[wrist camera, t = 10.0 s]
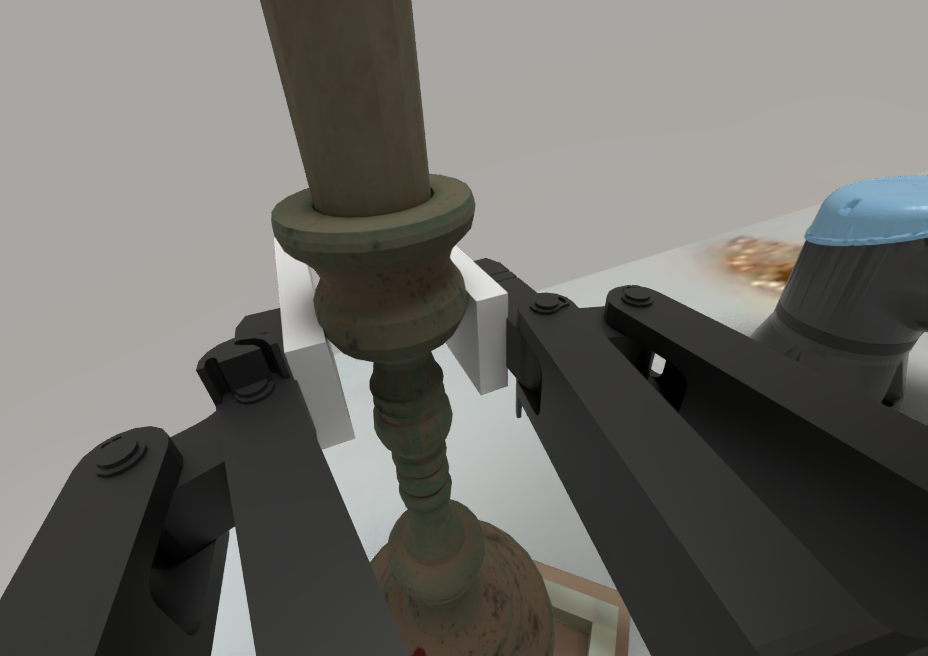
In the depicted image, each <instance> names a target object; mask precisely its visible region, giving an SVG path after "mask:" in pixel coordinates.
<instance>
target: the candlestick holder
mask: <svg viewBox="0 0 928 656" xmlns="http://www.w3.org/2000/svg"><path fill="white" fill-rule="evenodd" d="M260 2H261V6H262V9H263V13H264V17H265V21H266V25H267V29H268V32H269V36H270V40H271V43H272V48H273V51H274V55H275V59H276V63H277V67H278V70H279V74H280V78H281V82H282V85H283V90H284V93H285V97H286V101H287V105H288V108H289V112H290V116H291V120H292V124H293V128H294V131H295V135H296V139H297V142H298V146H299V150H300V154H301V158H302V162H303V166H304V170H305V173H306V177H307V181H308V185H309V188H307V189H304V190H302V191H299V192H297V193H295V194H293V195H291V196H288V197H287V198H285V199H284V200H282V201H281V202H279V203H278V204H277V205H276V206H275V208H274V209H273V211H272V219H271V220H272V228H273V232H274V236H275V238H276V240H277V241H278V243H279V244H280V246H281V247H282V249H283V251H284V252H285V253H287V254H288V255H290V256H291V257H292V258H294V259H295V260H298V261H300V262H302V263H305V264H306V265H308V266H310V267H311V268H313V269H314V270H315V271H316V273H317V274H318V275H319V277H320V281H319V283H318V285H317V288H316V290H315V294H314V299H313V302H314V308H315V315H316V318H317V321H318V323H319V325H320V326H321V327H322V328H323V331H324V335H325V337H326V338H327V339H328V340H329V341H330V342H332V343H333V344H334V345H335V346H336V347H337V348H338V349H339V350H340V351H341V352H342V353H344V354H346V355H348V356H351V357H353V358H355V359H359V360H365V361H370V362H374V364H373V374H372V376H371V378H370V390H371V393H372V395H373V402H374V405H375V407H374V410H373V413H374V429H375V431H376V434H377V436H378V437H379V439H380V440H381V442H382V443H383V444H384V446H385V447H386V448H387V449H388V450H390V451H392V459H393V461H394V464H395V465H396V472H397V479H398V482H399V493H400V495H401V498H402V500H403V502H404V503H405V506H406V507H407V509H408V510H407V511H405V512H404V513H403V514H402V515H401V517H400V518H399V519H398V520H397V521H396V523H395V525H394V527H393V529H392V531H391V533H390V536H389V540H388V543H387V544H386V545H384V546H383V547H382V548H381V550H380V551H379V552H378V553H377V554H376V556H375V557H374V558H373V559H372V561H371V562H370V565H371V567H372V569H373V572H374V574H375V576H376V579H377V581H378V584H379V586H380V588H381V591H382V593H383V595H384V598H385V600H386V602H387V605H388V607H389V609H390V612H391V614H392V616H393V619H394V621H395V623H396V626H397V628H398V631H399V633H400V635H401V638H402V640H403V642H404V645H405V647H406V649H407V652H408V654H409V656H553V654H554V646H555V630H554V620H553V610H552V604H551V601H550V598H549V595H548V592H547V589H546V586H545V583H544V580H543V577H542V575H541V573H540V572H539V570H538V569H537V567H536V565H535V564H534V562H533V561H532V559H531V557H530V556H529V554H528V553H527V552H526V551H525V550H524V549H523V548H522V547H521V546H520V545H519V544H518V543H517V542H516V541H515V540H514V539H513V538H512V537H511V536H510V535H509V534H507V533H505V532H504V531H502V530H500V529H499V528H497V527H495V526H493V525H492V524H490V523H487V522H484V521H480V520H478V519H477V517H476V516H475V515H474V514H473V513H472V512H471V511H470V510H469V509H468V507H466V506H465V505H463V504H461V503H459V502H458V501H454V500H451V499H450V495H451V485H452V480H451V476H450V474H449V472H448V471H449V465H448V460H447V457H446V449H447V447H446V442H445V439H446V437H447V435H448V433H449V431H450V427H451V422H452V415H453V414H452V410H451V406H450V402H449V399H448V396H447V394H446V393H445V389H444V384H443V372H442V368H441V367H440V366H439V364H438V363H437V362H436V361H435V359H434V357H433V355H432V352H431V351H432V350H434V349H436V348H438V347H439V346H441V345H443V344H444V343H445V342H446V341H447V340H448V339H450V338H451V337H452V336H453V335H454V333H455V331H456V330H457V328H458V326H459V324H460V322H461V320H462V318H463V316H464V314H465V312H466V310H467V303H468V298H467V293H466V288H465V283H464V278H463V276H462V274H461V271H460V270H459V269H458V267H457V266H456V265H455V264H454V263H453V262H452V260H451V258H450V255H451V252H452V249H453V248H454V246H455V245H456V244H457V243H458V242H459V241H460V240H461V239H462V238H463V237H464V236H465V235H466V233H467V232H468V231H469V230H470V229H471V225H472V221H473V217H474V211H475V201H474V197H473V194H472V191H471V189H470V188H469V187H468V185H467V184H466V183H463V182H462V181H460V180H458V179H455V178H451V177H447V176H442V175H435V174H429V170H428V161H427V150H426V141H425V131H424V121H423V111H422V101H421V91H420V81H419V71H418V61H417V52H416V42H415V33H414V22H413V13H412V2H411V0H260Z"/></svg>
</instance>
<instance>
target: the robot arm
mask: <svg viewBox="0 0 928 656" xmlns="http://www.w3.org/2000/svg"><path fill="white" fill-rule="evenodd" d="M804 237H805V239H806V241H805V243H804V245H803V247H802V250H801V252H800V254H799V256H798V259H797V261H796V263H795V265H794V267H793V270H792V272H791V274H790V276H789V279H788V281H787V283H786V285H785V287H784V290H783V292H782V294H781V297H780V299H779V301H778V304H777V306H776V308H775V310H774V312H773V313H772V314H771V315H770V316H769V317H768V318H767V319H766V320H765V321H764V322H763V323H762V324H761V325H760V326H759V327H758V328H757V329H756V330H755V331H754V332H753V333H752V334H751V335H750V336H749V337H747V336H745V335H743V334H741V333H739V332H737V331H735V330H733V329H731V328H729V327H727V326H725V325H723V324H721V323H719V322H717V321H715V320H713V319H711V318H709V317H707V316H705V315H703V314H701V313H699V312H697V311H695V310H693V309H691V308H689V307H687V306H685V305H683V304H681V303H679V302H677V301H675V300H673V299H671V298H669V297H667V296H665V295H663V294H661V293H659V292H657V291H655V290H652V289H649V288H646V287H640V286H638V285H632V286H631V285H626V286H622V287H617V288H614V289H612V290H611V291H609V293H608V295H607V298H606V304H605V306H602V307H589V308H578V307H577V306H576V305H575V304H574V302H572V301H571V300H570V299H568V298H567V297H564V296H561V295H558V294H553V293H537V292H535V291H534V290H533V289H532V288H530V287H529V286H528V285H527V284H526V283H524V282H523V281H522V280H520V279H519V278H517V277H516V275H515V274H513V273H512V272H510V271H509V270H508V269H507V268H506V267H504V266H503V265H502V264H501V263H499V262H496V261H493V260H491V259H488V258H484V259H480V260H476V261H472V260H471V259H470V258H469V257H468V256H467V255H466V254H465V253H463V252H462V251H461V250H460V249H459V248H458V247H457V246H456V245H455V246H454V248H453V249H452V252H451V255H450V258H451V260H452V262H453V263H454V264H455V265H456V266H457V267H458V269H459V270H460V271H461V274H462V276H463V278H464V283H465V288H466V293H467V298H468V303H467V310H466V312H465V314H464V316H463V318H462V320H461V322H460V324H459V326H458V328H457V330H456V331H455V333H454V335H453V336H452V337H451V338H450V339H448V340H447V341H446V342H445V343H446V344H447V346H448V347H449V349H450V350H451V352H452V353H453V355H454V356H455V358H456V359H457V361H458V362H459V363H460V365H461V366H462V368H463V369H464V371H465V372H466V374H467V375H468V377H469V378H470V380H471V381H472V383H473V384H474V386H475V387H476V389H477V390H478V392H479V393H480V395H483V394H486V393H489V392H492V391H495V390H498V389H500V388H503V387H506V386H508V369H509V370H510V371H511V372H512V374H513V375H514V376H515V377H516V415H517V418H520V417H521V409H522V406H523V408H524V410H525V412H526V414H527V416H528V417H529V419H530V421H531V423H532V425H533V427H534V429H535V431H536V433H537V435H538V437H539V439H540V441H541V443H542V445H543V447H544V449H545V450H546V452H547V454H548V456H549V458H550V460H551V462H552V464H553V466H554V468H555V470H556V472H557V474H558V476H559V478H560V480H561V481H562V483H563V485H564V487H565V489H566V491H567V493H568V495H569V497H570V499H571V501H572V503H573V505H574V507H575V509H576V511H577V512H578V514H579V516H580V518H581V520H582V522H583V524H584V526H585V528H586V530H587V532H588V534H589V536H590V538H591V540H592V542H593V544H594V545H595V547H596V549H597V551H598V553H599V555H600V557H601V559H602V561H603V563H604V565H605V567H606V569H607V571H608V573H609V575H610V576H611V578H612V580H613V582H614V584H615V586H616V588H617V590H618V592H619V594H620V596H621V598H622V600H623V602H624V604H625V606H626V607H627V609H628V611H629V613H630V615H631V617H632V619H633V621H634V623H635V625H636V627H637V629H638V631H639V633H640V635H641V637H642V639H643V640H644V642H645V644H646V646H647V648H648V650H649V652H650V654H651V656H928V426H925V425H923V424H921V423H919V422H917V421H915V420H913V419H911V418H909V417H907V416H905V415H903V414H901V413H899V412H897V411H896V410H897V409H898V408H899V406H900V405H901V402H902V400H903V395H904V387H905V380H906V372H907V364H908V356H909V352H910V351H911V349H912V347H913V346H914V344H915V343H916V342H917V340H918V339H919V337H920V336H921V335H922V334H923V333H924V332H928V176H898V177H885V178H876V179H870V180H865V181H859V182H855V183H852V184H849V185H846V186H843V187H841V188H839V189H837V190H836V191H834V192H833V193H831V194H830V195H829V196H828V197H827V198H826V199H825V201H824V202H823V203H822V205H821V207H820V209H819V211H818V213H817V215H816V217H815V219H814V221H813V223H812V225H811V226H810V227H809V228H808V229H807V231H806V233H805V236H804ZM274 243H275V255H276V266H277V276H278V288H279V299H280V308H278V309H274V310H269V311H265V312H261V313H256V314H252V315H248V316H245V317H244V319H243V320H242V321H241V322H240V324H239V325H238V326H237V327H236V331H235V338H233V339H231V340H228V341H226V342H223V343H221V344H219V345H217V346H216V347H214V348H213V349H211V350H210V351H208V352H207V353H206V354H205V355H204V356H203V357H202V358H201V359H200V360H199V362H198V365H197V369H196V371H197V373H198V375H199V377H200V378H201V380H202V382H203V384H204V386H205V387H206V389H207V391H208V393H209V395H210V397H211V398H212V400H213V402H214V404H215V406H216V412H214V413H213V414H212V415H210V416H209V417H208V418H206V419H205V420H203V421H201V422H199V423H198V424H196V425H194V426H192V427H190V428H188V429H186V430H184V431H182V432H180V433H178V434H176V435H174V436H172V437H169V435H168V434H167V433H166V432H165V431H164V430H163V429H162V428H157V427H152V426H149V427H141V428H134V429H131V430H129V431H126V432H123V433H120V434H117V435H115V436H113V437H111V438H110V439H107V440H106V441H104V442H103V443H101V444H99V445H98V446H97V447H95V448H94V449H93V450H92V451H90V452H89V453H88V454H87V455H85V456H84V457H83V458H82V459H81V461H80V462H79V463H78V465H77V466H76V467H75V468H74V470H73V471H72V473H71V474H70V476H69V478H68V480H67V482H66V483H65V485H64V487H63V489H62V491H61V492H60V494H59V496H58V498H57V499H56V501H55V503H54V505H53V506H52V508H51V510H50V512H49V513H48V515H47V517H46V519H45V521H44V523H43V524H42V526H41V528H40V530H39V531H38V533H37V535H36V537H35V538H34V540H33V542H32V544H31V546H30V547H29V549H28V551H27V553H26V555H25V556H24V558H23V560H22V562H21V564H20V565H19V567H18V569H17V570H16V572H15V574H14V576H13V577H12V579H11V581H10V583H9V585H8V586H7V588H6V590H5V592H4V594H3V595H2V597H1V599H0V656H211V652H212V645H213V639H214V632H215V626H216V619H217V613H218V606H219V600H220V593H221V587H222V580H223V574H224V567H225V561H226V554H227V547H228V541H229V530H230V529H232V528H233V527H235V528H236V534H237V541H238V547H239V553H240V559H241V565H242V571H243V577H244V584H245V590H246V596H247V602H248V608H249V614H250V620H251V627H252V633H253V639H254V645H255V651H256V656H409V654H408V652H407V649H406V647H405V645H404V642H403V640H402V638H401V635H400V633H399V631H398V628H397V626H396V623H395V621H394V619H393V616H392V614H391V612H390V609H389V607H388V605H387V602H386V600H385V598H384V595H383V593H382V591H381V588H380V586H379V584H378V581H377V579H376V576H375V574H374V572H373V569H372V567H371V565H370V562H369V560H368V558H367V555H366V553H365V551H364V548H363V546H362V544H361V541H360V539H359V536H358V534H357V532H356V529H355V527H354V525H353V522H352V520H351V518H350V515H349V513H348V511H347V508H346V506H345V504H344V501H343V499H342V497H341V494H340V492H339V489H338V487H337V485H336V482H335V480H334V478H333V475H332V473H331V471H330V468H329V466H328V464H327V461H326V459H325V457H324V454H323V452H322V449H325V448H328V447H331V446H334V445H337V444H340V443H343V442H346V441H349V440H352V439H355V435H354V431H353V428H352V424H351V420H350V416H349V412H348V408H347V405H346V401H345V397H344V393H343V389H342V385H341V382H340V378H339V374H338V370H337V366H336V362H335V358H334V355H333V351H332V347H331V343H330V341H329V340H328V339H327V338H326V337H325V335H324V331H323V328H322V327H321V326H320V325H319V323H318V321H317V318H316V315H315V308H314V302H313V299H314V294H315V290H316V288H315V285H314V281H313V278H312V274H311V271H310V268H309V266H308V265H306V264H305V263H302V262H300V261H298V260H295V259H294V258H292V257H291V256H290V255H288V254H287V253H285V252H284V251H283V249H282V247H281V246H280V244H279V243H278V241H277V240H276V238H274ZM655 353H656V354H657V355H659V356H661V357H662V358H664V359H665V360H666V363H665V367H664V370H663V373H662V374H658V373H656V372H654V371H653V370H651V367H652V363H653V359H654V355H655Z"/></svg>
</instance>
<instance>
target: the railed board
mask: <svg viewBox="0 0 928 656" xmlns="http://www.w3.org/2000/svg"><path fill="white" fill-rule="evenodd" d="M532 561H533V562H534V564H535V565H536V567H537V569H538V570H539V572H540V573H541V575H542V577H543V580H544V583H545V586H546V589H547V592H548V595H549V598H550V601H551V604H552V610H553V620H554V630H555V646H554V654H553V656H628V641H629V625H630V613H629V611H628V609H627V607H626V606H625V604H624V602H623V600H622V598H621V596H620V594H619V592H618V591H617V590H614V589H611V588H609V587H606V586H603V585H600V584H598V583H595V582H592V581H589V580H587V579H584V578H581V577H578V576H576V575H573V574H570V573H567V572H565V571H562V570H559V569H556V568H554V567H551V566H548V565H545V564H543V563H540V562H537V561H535V560H532Z"/></svg>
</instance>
